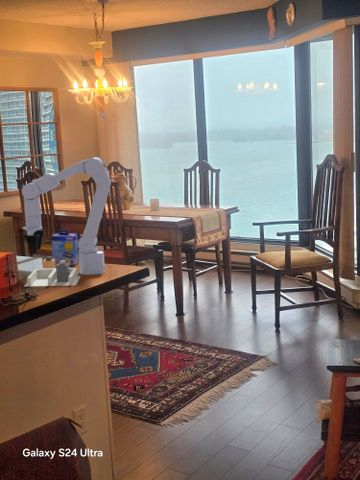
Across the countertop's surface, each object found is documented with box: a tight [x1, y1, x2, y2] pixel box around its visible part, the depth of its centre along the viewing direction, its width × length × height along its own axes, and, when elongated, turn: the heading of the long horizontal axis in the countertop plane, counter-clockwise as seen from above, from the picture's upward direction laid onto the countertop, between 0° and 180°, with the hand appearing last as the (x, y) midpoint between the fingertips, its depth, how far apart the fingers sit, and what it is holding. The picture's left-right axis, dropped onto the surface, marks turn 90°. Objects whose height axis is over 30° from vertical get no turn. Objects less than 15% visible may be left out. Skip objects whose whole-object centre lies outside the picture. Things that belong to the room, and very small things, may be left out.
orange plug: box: [42, 255, 56, 269], centre depth 240 cm, size 4×4×7 cm
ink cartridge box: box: [50, 229, 79, 266], centre depth 259 cm, size 10×6×14 cm, turn 87°
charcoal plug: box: [55, 260, 70, 282], centre depth 228 cm, size 4×4×7 cm
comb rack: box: [23, 267, 82, 287], centre depth 228 cm, size 18×14×4 cm
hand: (35, 251), depth 239 cm, fingers open, 7 cm apart
